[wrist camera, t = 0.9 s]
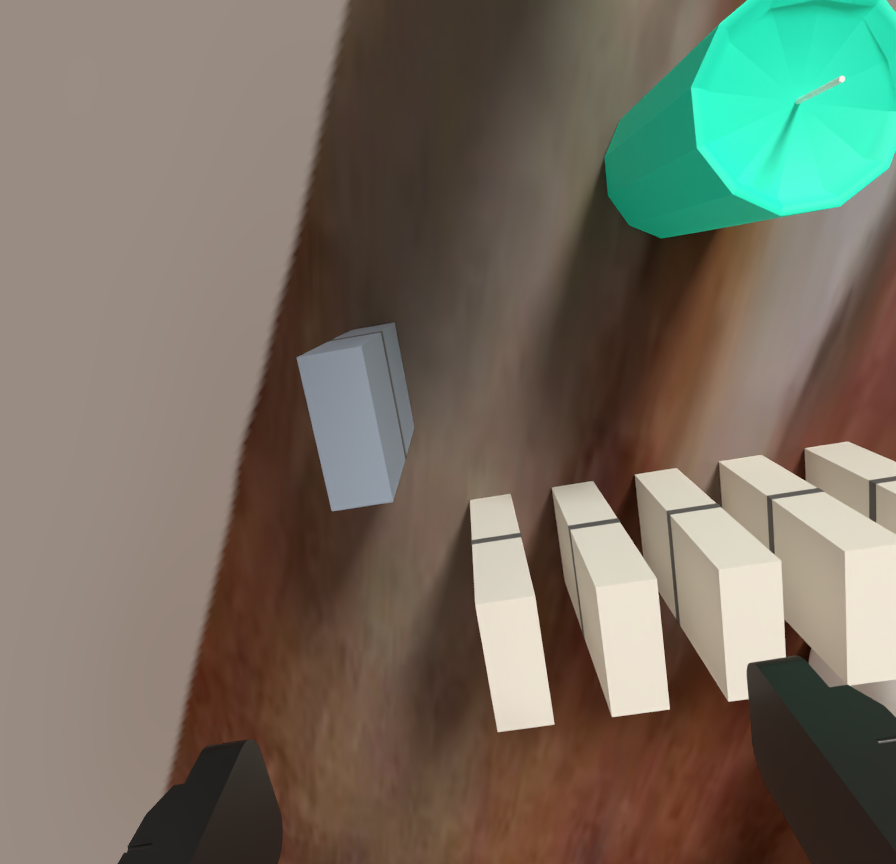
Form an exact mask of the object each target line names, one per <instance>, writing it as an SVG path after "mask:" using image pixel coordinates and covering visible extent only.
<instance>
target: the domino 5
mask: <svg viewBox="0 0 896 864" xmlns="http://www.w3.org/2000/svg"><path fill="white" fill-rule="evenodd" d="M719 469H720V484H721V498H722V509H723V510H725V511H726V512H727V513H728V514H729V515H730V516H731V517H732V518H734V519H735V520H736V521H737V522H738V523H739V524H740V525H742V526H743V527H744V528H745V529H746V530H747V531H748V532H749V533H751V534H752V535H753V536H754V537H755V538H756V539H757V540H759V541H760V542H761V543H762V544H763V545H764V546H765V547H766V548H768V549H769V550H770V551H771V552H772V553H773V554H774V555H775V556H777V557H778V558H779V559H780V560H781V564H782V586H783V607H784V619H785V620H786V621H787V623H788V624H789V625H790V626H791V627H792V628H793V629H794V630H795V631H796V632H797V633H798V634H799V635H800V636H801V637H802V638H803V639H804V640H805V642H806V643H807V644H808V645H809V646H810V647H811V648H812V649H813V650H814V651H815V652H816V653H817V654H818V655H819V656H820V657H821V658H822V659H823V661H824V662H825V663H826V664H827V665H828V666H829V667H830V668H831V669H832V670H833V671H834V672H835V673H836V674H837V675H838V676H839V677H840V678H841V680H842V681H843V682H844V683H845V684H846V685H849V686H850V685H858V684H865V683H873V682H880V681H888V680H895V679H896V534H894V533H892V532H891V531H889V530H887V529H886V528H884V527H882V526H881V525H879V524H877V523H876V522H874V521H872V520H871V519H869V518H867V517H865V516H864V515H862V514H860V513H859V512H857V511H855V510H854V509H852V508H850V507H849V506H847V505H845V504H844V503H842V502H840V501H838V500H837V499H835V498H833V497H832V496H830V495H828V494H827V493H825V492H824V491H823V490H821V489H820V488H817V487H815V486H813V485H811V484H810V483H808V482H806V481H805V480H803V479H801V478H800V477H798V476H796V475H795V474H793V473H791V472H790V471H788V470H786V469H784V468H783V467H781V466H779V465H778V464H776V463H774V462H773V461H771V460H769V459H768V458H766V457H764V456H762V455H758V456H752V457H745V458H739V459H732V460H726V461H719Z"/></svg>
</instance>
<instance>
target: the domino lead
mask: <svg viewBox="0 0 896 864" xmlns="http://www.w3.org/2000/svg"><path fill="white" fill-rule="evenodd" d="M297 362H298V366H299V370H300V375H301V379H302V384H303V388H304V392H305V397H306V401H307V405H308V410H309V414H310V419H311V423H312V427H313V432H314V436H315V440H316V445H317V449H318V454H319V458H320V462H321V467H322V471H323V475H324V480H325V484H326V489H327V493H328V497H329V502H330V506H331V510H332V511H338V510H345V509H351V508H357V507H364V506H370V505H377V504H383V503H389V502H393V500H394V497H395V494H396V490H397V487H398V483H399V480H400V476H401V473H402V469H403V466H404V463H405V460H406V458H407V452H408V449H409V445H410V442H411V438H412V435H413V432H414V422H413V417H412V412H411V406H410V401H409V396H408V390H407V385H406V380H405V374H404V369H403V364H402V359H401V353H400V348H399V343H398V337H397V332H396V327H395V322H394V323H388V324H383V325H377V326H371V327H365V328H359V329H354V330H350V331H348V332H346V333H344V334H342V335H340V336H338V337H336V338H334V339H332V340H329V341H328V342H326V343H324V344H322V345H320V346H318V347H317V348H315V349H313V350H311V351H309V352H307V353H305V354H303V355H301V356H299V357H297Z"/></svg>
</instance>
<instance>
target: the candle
mask: <svg viewBox="0 0 896 864" xmlns="http://www.w3.org/2000/svg"><path fill="white" fill-rule="evenodd" d="M895 151H896V12H895V11H894V10H893V8H892V7H891V6H890V4H889V3H888V2H887V1H886V0H747V1H746V2H745V3H744V4H742V5H741V6H740V7H739V8H738V9H737V10H735V11H734V12H733V13H732V14H731V15H729V16H728V17H727V18H726V19H725V20H724V21H722V22H721V23H720V24H719V25H718V26H717V27H716V28H715V29H714V30H713V31H712V32H711V33H710V34H709V35H708V36H707V37H705V38H704V39H703V40H702V41H701V42H700V43H699V44H698V45H697V46H696V47H695V48H694V49H693V50H692V51H691V52H690V53H689V54H688V55H687V56H686V57H685V58H684V59H683V60H682V61H681V62H680V63H679V64H678V65H677V66H675V67H674V68H673V69H672V70H671V71H670V72H669V73H668V74H667V75H666V76H665V77H664V78H663V79H662V80H661V81H660V82H659V83H658V84H657V85H656V86H655V87H654V88H653V89H652V90H651V91H650V92H649V93H648V94H647V95H645V96H644V97H643V98H642V99H641V100H640V101H639V102H638V103H637V104H636V105H635V106H634V107H633V108H632V109H631V110H630V111H629V112H628V113H627V114H626V115H625V116H624V117H623V118H622V119H621V120H620V121H619V123H618V126H617V128H616V131H615V133H614V136H613V138H612V140H611V143H610V145H609V148H608V150H607V153H606V155H605V157H604V159H605V169H606V180H607V191H608V197H609V198H610V199H611V201H612V202H613V204H614V205H615V206H616V208H617V209H618V211H619V212H620V214H621V215H622V216H623V218H624V219H625V221H626V222H627V223H628V225H629V226H632V227H634V228H637V229H639V230H642V231H644V232H647V233H649V234H652V235H654V236H656V237H659V238H667V237H673V236H679V235H685V234H691V233H697V232H703V231H708V230H714V229H719V228H725V227H730V226H736V225H741V224H747V223H752V222H758V221H763V220H769V219H774V218H780V217H785V216H791V215H796V214H802V213H807V212H813V211H818V210H824V209H829V208H835V207H840V206H841V205H843V204H844V203H845V202H846V201H848V200H849V199H850V198H852V197H853V196H854V195H855V194H857V193H858V192H859V191H860V190H862V189H863V188H864V187H866V186H867V185H868V184H869V183H871V182H872V181H873V180H875V179H876V178H877V177H878V176H880V175H881V174H882V173H883V172H885V171H886V170H887V169H889V166H890V164H891V161H892V159H893V156H894V154H895Z"/></svg>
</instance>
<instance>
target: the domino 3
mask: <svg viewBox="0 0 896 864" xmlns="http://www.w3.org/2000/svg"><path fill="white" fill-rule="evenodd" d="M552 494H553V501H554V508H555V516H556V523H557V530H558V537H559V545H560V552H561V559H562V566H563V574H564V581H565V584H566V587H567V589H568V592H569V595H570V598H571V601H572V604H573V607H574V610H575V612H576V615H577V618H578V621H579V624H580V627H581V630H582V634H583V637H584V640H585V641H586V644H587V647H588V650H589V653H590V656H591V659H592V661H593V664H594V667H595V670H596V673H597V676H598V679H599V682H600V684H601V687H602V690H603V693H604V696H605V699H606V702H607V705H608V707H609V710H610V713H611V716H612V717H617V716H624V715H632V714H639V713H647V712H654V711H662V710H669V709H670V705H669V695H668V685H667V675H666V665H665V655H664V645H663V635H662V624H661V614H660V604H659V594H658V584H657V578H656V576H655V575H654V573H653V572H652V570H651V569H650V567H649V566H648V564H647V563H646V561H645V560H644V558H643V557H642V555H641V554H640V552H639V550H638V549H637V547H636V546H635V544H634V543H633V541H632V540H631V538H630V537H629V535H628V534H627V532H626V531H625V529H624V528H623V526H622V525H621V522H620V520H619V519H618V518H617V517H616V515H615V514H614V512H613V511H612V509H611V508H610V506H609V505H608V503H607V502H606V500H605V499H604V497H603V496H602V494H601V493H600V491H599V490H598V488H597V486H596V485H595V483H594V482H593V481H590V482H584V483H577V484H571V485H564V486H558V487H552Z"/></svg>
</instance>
